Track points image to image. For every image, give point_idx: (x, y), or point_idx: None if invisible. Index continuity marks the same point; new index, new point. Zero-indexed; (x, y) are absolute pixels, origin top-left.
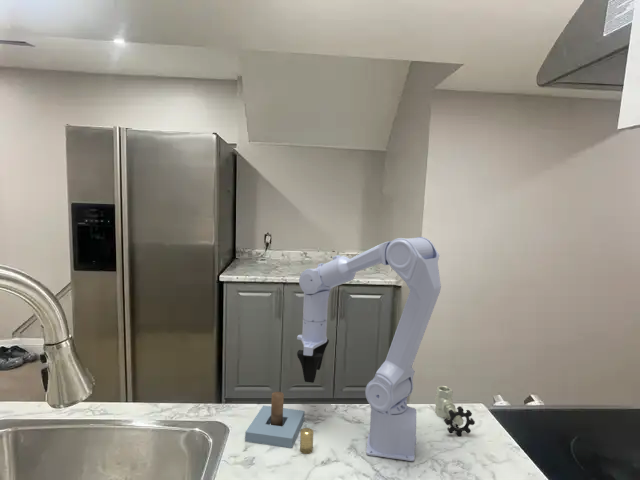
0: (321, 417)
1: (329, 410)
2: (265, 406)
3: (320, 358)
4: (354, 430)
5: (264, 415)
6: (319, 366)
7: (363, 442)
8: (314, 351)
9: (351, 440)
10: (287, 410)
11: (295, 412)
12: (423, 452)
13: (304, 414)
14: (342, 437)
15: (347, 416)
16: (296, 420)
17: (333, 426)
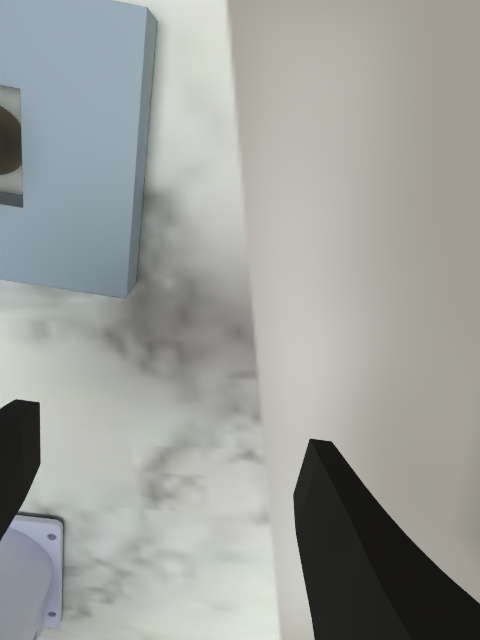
0: (167, 360)
1: (241, 393)
2: (135, 29)
3: (316, 596)
4: (83, 477)
5: (5, 41)
6: (298, 520)
7: None
8: (350, 628)
9: None
10: (108, 198)
11: (93, 249)
12: None
13: (130, 290)
14: None
15: (193, 459)
16: (5, 260)
17: (96, 407)
